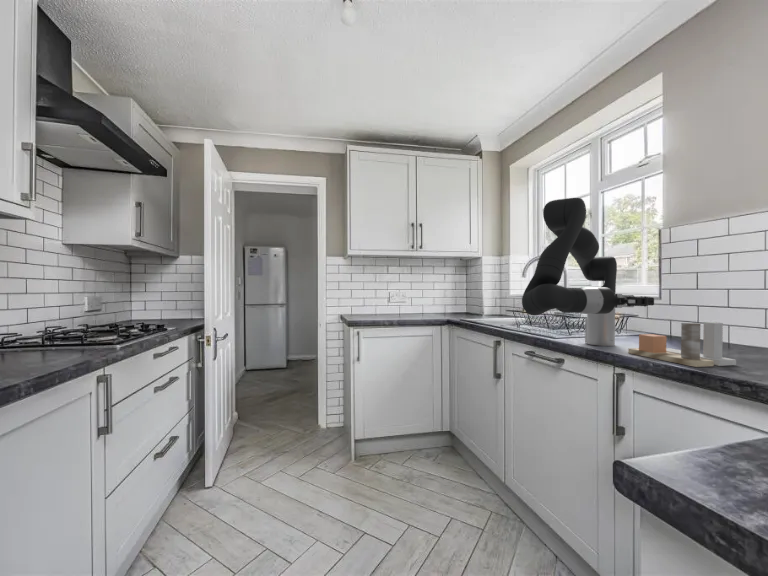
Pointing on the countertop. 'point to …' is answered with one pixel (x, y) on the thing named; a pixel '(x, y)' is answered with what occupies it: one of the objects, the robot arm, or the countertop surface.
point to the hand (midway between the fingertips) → (639, 300)
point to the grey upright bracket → (711, 345)
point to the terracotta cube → (652, 343)
